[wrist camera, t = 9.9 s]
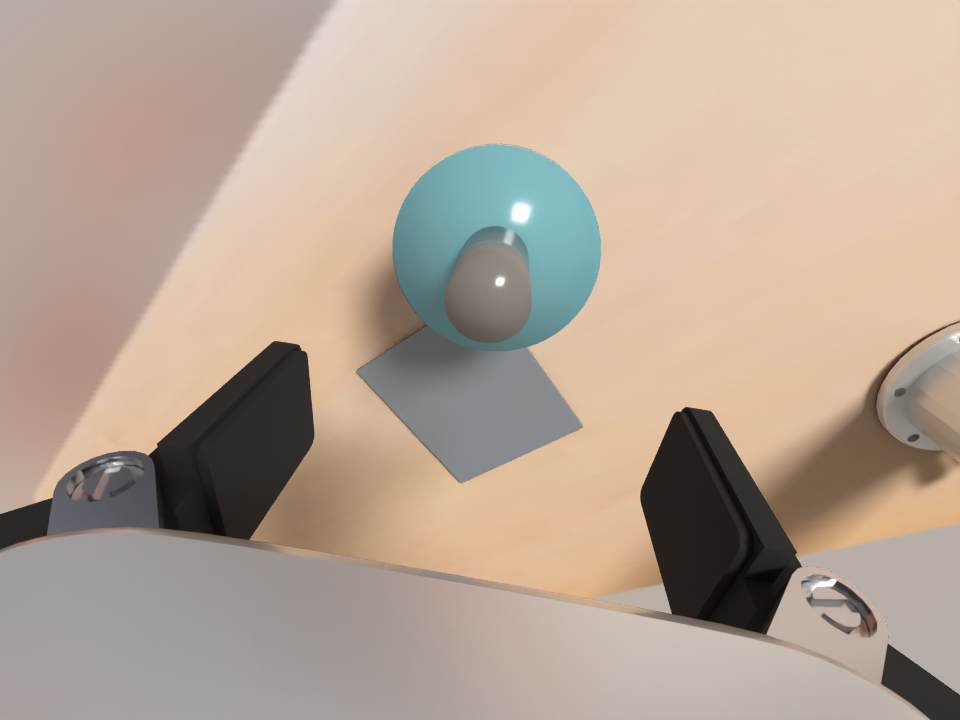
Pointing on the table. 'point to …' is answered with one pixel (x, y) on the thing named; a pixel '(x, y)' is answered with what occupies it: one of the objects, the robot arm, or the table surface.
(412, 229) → the lid
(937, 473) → the table surface
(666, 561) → the robot arm
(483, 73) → the table surface
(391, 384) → the mat
